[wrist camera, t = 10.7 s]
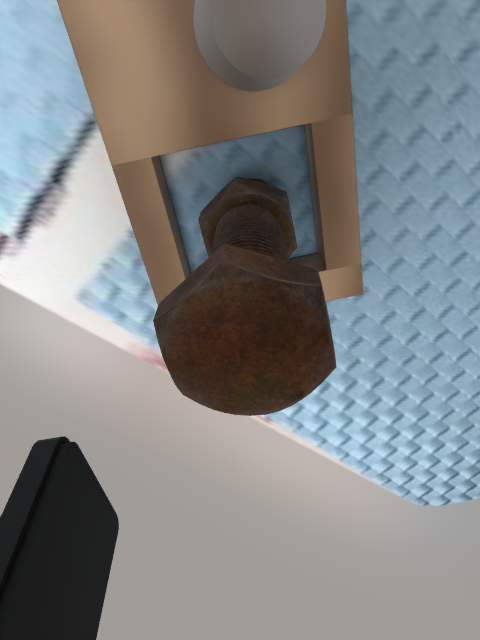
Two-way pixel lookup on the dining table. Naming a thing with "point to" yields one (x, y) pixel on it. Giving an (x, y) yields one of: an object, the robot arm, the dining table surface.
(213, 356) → the bolt
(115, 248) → the dining table surface
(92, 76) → the wooden peg holder
